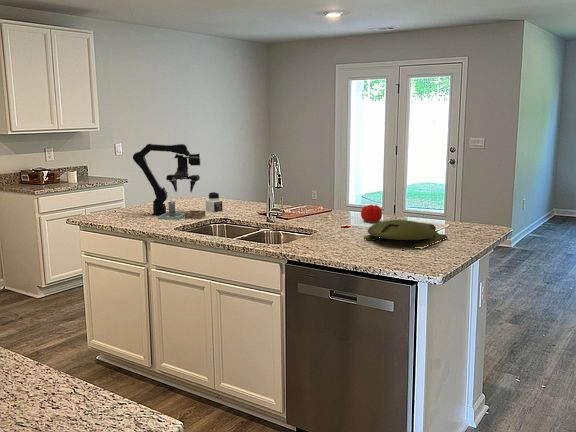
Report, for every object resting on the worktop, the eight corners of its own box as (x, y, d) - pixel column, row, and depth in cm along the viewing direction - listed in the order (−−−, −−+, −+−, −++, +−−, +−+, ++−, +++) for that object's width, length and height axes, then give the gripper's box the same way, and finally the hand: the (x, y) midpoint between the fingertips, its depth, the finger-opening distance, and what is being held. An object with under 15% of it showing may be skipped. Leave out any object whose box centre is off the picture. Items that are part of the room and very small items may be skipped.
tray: (158, 220, 317) (157, 216, 316) (166, 216, 328) (166, 212, 328) (178, 221, 315) (178, 217, 314) (186, 217, 326) (186, 213, 326)
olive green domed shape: (392, 230, 291) (392, 212, 289) (449, 239, 272) (450, 219, 270) (354, 243, 265) (355, 222, 263) (415, 253, 245) (415, 231, 244)
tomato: (365, 219, 320) (365, 203, 319) (385, 221, 314) (385, 205, 313) (357, 222, 311) (357, 206, 310) (377, 224, 305) (378, 207, 304)
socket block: (185, 220, 319) (184, 213, 318) (190, 217, 328) (190, 210, 327) (200, 220, 317) (200, 213, 317) (205, 217, 326) (205, 210, 325)
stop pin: (168, 218, 320) (167, 202, 318) (170, 217, 323) (169, 201, 322) (174, 218, 319) (173, 202, 318) (176, 217, 323) (175, 201, 321)
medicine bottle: (214, 213, 338) (213, 193, 336) (205, 212, 342) (205, 192, 340) (222, 212, 344) (222, 192, 341) (214, 210, 348) (213, 191, 346)
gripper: (162, 166, 326) (163, 193, 329) (193, 167, 323) (194, 194, 326) (169, 164, 337) (170, 191, 340) (199, 165, 334) (200, 191, 337)
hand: (183, 192), depth 335 cm, fingers open, 9 cm apart
